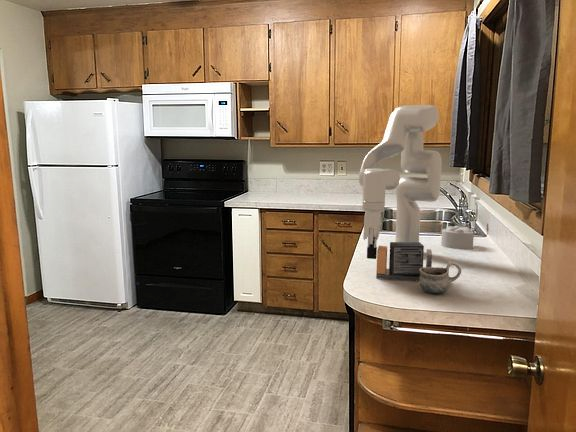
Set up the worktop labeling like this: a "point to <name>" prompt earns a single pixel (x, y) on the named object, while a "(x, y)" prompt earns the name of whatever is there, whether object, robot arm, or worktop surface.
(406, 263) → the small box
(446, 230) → the beige piece
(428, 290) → the mug
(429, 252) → the grey bent bar
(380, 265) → the vise slide jaw
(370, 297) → the worktop surface
